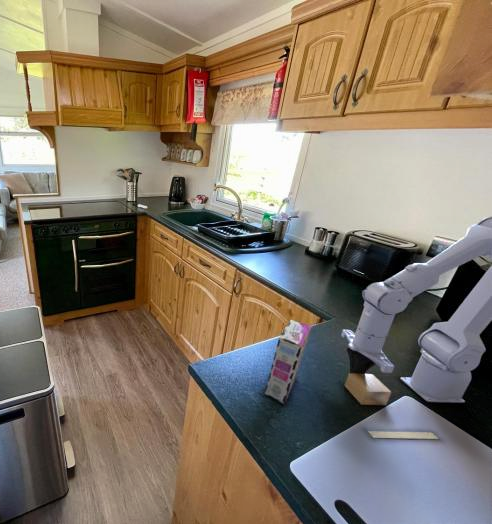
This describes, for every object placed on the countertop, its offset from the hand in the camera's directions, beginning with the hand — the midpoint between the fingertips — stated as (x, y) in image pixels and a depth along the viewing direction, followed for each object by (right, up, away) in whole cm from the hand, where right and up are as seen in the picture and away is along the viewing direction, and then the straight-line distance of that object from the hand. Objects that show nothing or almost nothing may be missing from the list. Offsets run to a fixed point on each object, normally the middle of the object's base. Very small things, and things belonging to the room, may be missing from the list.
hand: (355, 376), depth 74 cm
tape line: (0, -7, -13) cm, 15 cm away
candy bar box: (-20, -2, -2) cm, 20 cm away
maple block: (0, -3, -3) cm, 5 cm away
